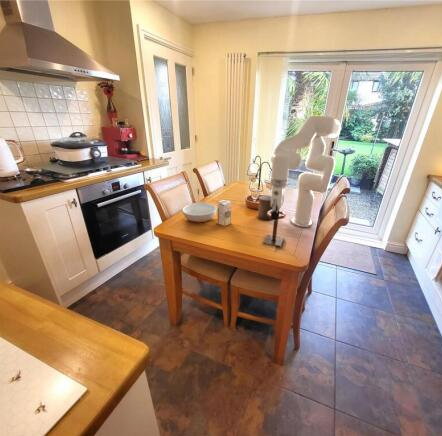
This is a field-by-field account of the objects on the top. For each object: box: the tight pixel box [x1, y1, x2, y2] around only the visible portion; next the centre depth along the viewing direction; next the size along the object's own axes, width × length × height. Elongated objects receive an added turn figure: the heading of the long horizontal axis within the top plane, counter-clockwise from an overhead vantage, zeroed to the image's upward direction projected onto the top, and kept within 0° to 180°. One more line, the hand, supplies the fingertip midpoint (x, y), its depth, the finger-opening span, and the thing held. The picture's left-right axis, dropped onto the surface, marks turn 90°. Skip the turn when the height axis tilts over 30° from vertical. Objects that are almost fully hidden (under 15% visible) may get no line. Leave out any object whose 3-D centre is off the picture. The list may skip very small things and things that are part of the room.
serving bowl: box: [182, 201, 218, 223], centre depth 145 cm, size 21×21×7 cm
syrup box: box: [217, 199, 232, 227], centre depth 137 cm, size 6×6×14 cm
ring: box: [267, 210, 287, 220], centre depth 116 cm, size 9×9×2 cm
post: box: [263, 219, 284, 249], centre depth 121 cm, size 9×9×13 cm
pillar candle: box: [257, 194, 273, 222], centre depth 148 cm, size 10×10×15 cm
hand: (274, 218), depth 114 cm, fingers closed on ring, 2 cm apart
